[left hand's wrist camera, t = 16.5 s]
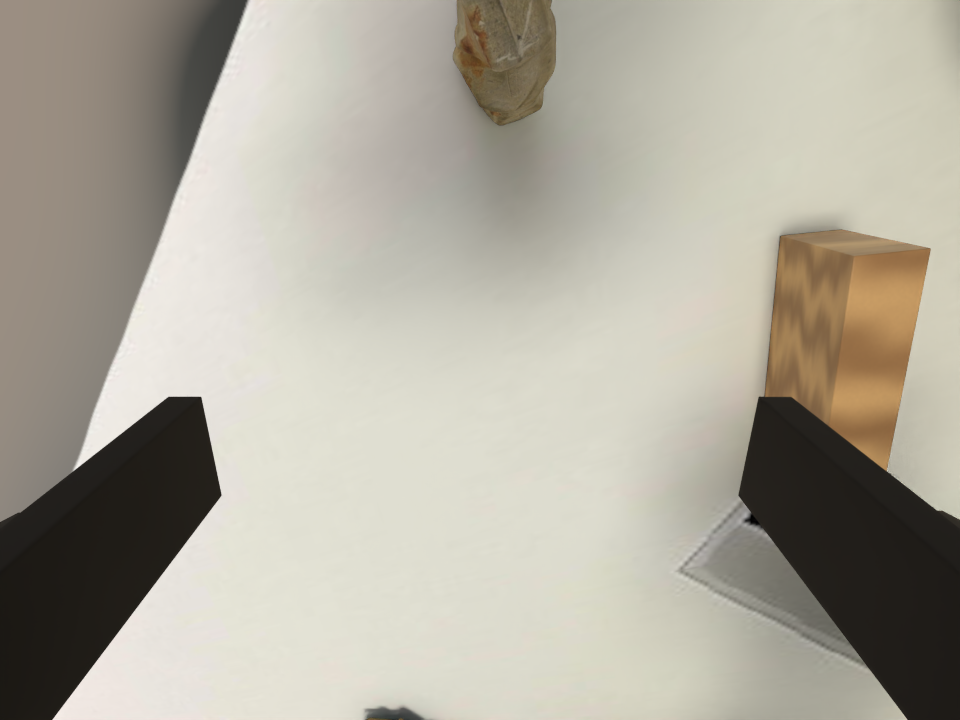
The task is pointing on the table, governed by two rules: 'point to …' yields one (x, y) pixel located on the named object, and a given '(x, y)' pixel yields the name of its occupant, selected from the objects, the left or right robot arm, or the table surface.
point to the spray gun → (380, 719)
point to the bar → (846, 331)
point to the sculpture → (506, 54)
